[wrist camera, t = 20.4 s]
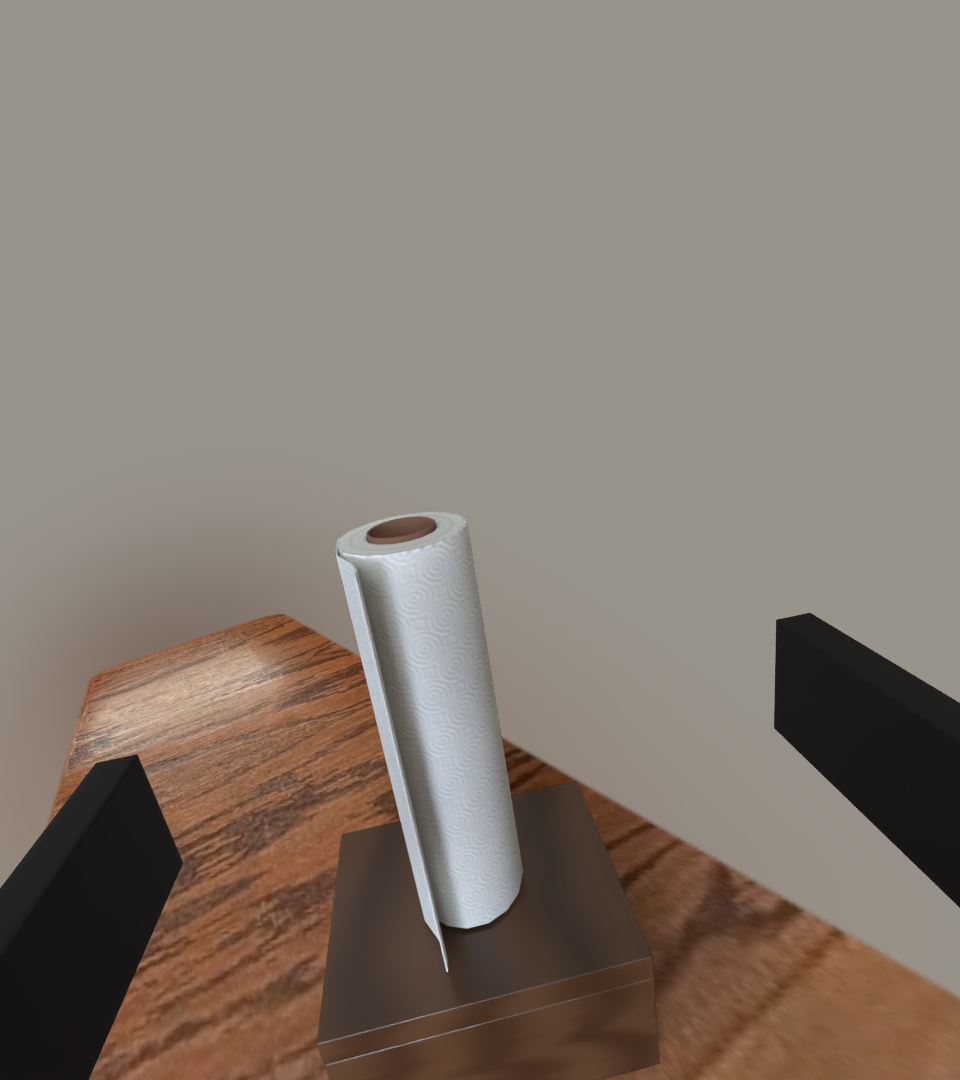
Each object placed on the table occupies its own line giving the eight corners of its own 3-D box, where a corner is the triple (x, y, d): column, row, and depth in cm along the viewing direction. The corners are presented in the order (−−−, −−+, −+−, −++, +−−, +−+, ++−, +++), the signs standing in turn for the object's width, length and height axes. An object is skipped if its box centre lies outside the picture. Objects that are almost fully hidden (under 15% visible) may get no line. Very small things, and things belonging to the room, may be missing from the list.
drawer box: (586, 868, 40) (576, 779, 38) (660, 1064, 29) (653, 956, 27) (366, 922, 39) (341, 833, 36) (354, 1149, 28) (315, 1044, 25)
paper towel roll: (475, 820, 36) (415, 502, 29) (546, 875, 31) (494, 514, 25) (381, 899, 32) (285, 546, 25) (447, 975, 27) (352, 571, 20)
